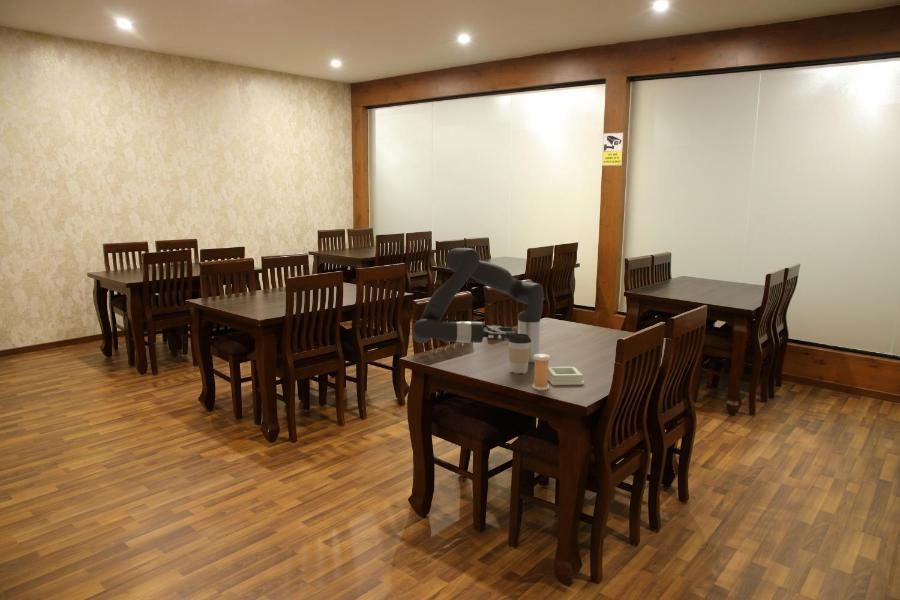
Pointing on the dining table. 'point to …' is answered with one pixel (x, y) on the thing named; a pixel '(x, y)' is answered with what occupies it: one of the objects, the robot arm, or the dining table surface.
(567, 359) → the dining table surface
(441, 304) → the robot arm
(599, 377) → the dining table surface
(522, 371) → the coffee cup
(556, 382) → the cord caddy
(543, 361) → the cord spool
